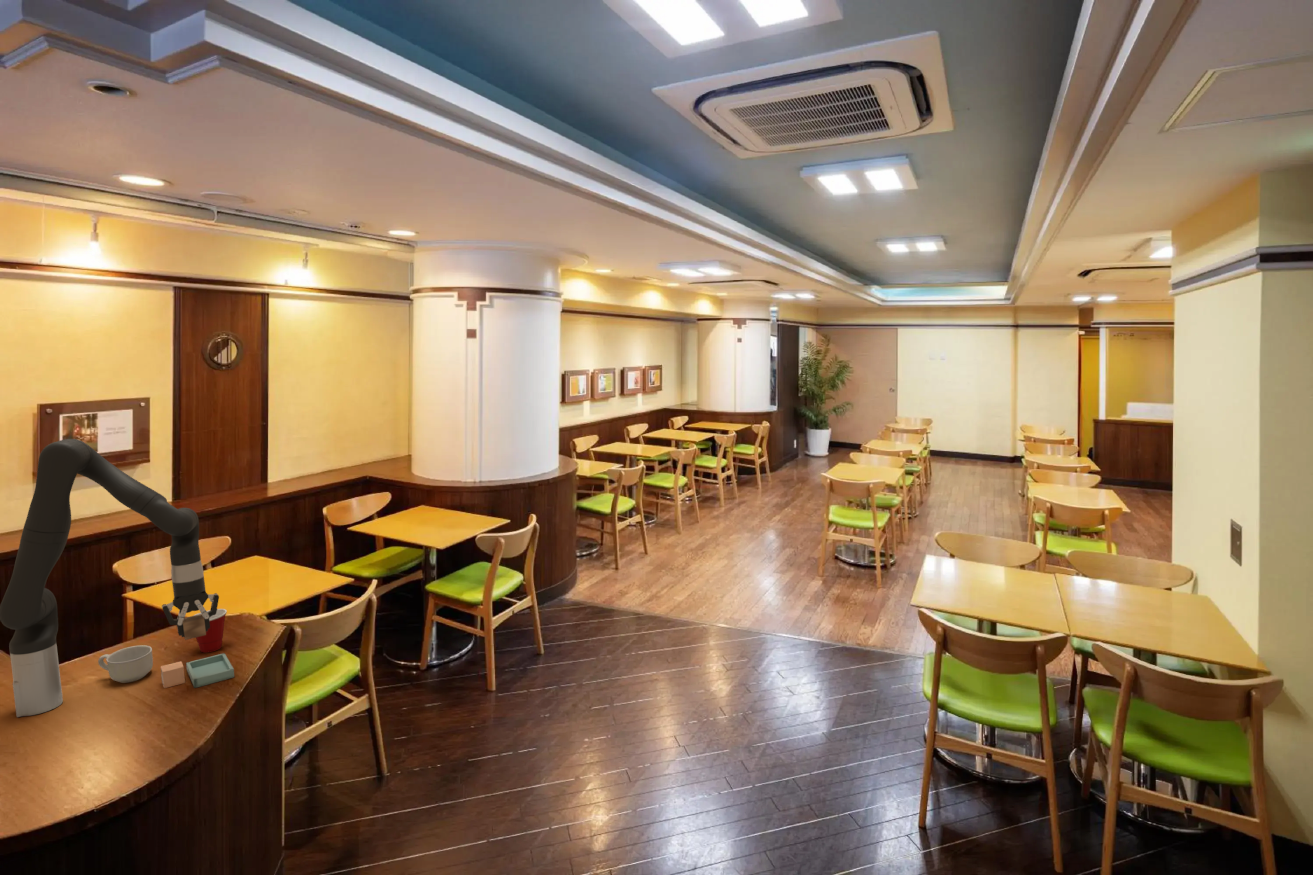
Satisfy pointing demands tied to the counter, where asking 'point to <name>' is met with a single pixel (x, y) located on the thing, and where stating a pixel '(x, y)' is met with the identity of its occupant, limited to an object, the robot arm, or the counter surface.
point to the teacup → (128, 663)
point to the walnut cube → (194, 626)
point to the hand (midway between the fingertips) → (194, 633)
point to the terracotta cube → (172, 674)
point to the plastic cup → (213, 632)
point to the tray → (209, 670)
